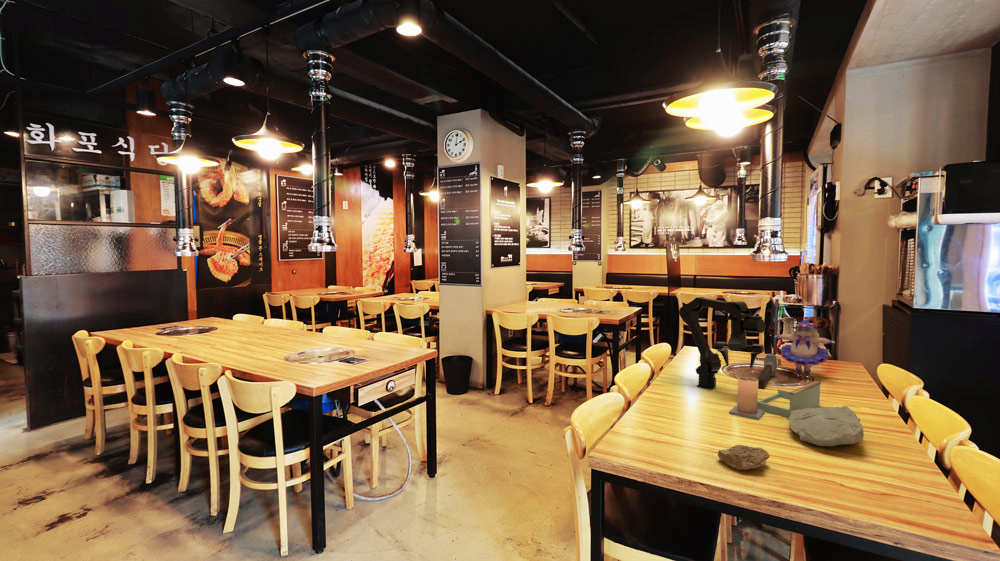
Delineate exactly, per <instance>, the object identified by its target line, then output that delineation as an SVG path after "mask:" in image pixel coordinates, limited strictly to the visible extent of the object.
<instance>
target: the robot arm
mask: <svg viewBox="0 0 1000 561" xmlns="http://www.w3.org/2000/svg"><path fill="white" fill-rule="evenodd" d="M703 307H705V308H709V309H715V310H720V311H723V312H725V313H726V314H728V316H727V317H725V320H726V321H730V337H729V339H728V341H727V342H726V341H717V342H715V343H713V350H717V352H719V353H720V354H721V356H722V357H723V360H724V362H725V365H726V367H728V366H729V362H730V361H729V351H738V352H739V351H741V350H742V351H743V350H745V351H747V350H748V351H751V352H750V362H749V366H750V369H752V368H753V366H754V364H755V361H756V359H757V357H758V355H760V354H762V353H765V350H766V349H765V348H766V347H765V345H764V344H761V343H760V344H759V343H754V344H752V345H748V340H747V332H748V333H757V334H762V333H765V331H766V326H767V325H766V322H765V320H764V319H763V316H761V315H759V316H757V315H756V316H755V315H754V314H753V313H752V311H751V310H750V309H749V307H748V304H747V303H746V302H745V301H739V300H737V301H736V300H735V301H724V300H720V299H715V298H714V299H713V298H708V297H704V296H699V297H698V296H697V297H695V298H694V299H693V300H691V301H689V302H687V303H686V304H684V305H682V306H680V308H679V309H678V314H679V315H678V316H680V318H681V320H682V321H683V322H684V323H685V324H686V325H687V326H688V329H689V330H690V333H691V336H692V338H693V340H694V342H695V345H696V347H697V349H698V352H699V363H700V365H699V366H697V367H696V368H695V372H696V374H697V375H698V384H697V388H702V389H706V390H713V389H716V387H717V377H716V375H717V374H718V373H719V371H720V370H721V368H722V360H721V359H720V356H719V354H718V353H717V352H716V353H714V352H713V351H712V350H711V348H710V345H709V343H708V340H707V338H706V336H705V334H704V331H703V329H702V327H701V325H700V321H699V320H700V314H699V312H701V310H702V309H703Z"/></svg>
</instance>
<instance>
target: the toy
mask: <svg viewBox="0 0 1000 561" xmlns="http://www.w3.org/2000/svg"><path fill="white" fill-rule="evenodd" d="M811 320H812V317H809V318H806V319H804V320H802V321H797V326H793V327H792V326H791V327H790V328H792V329H795V331H793V333H791V334H789V333H788V334H786V333H785V334H784V333H782V334H776V335H774V338H777V339H778V338H779V339H781V340H785V341H786V340H787V341H791V342H792V343H791V344H785V345H782V347H781V349H780V353H781V355H780V357H781V358H782V359H783V360H784V361H786V362H789V363H790V364H791V363H793V364H794V366H795V372H796V377H799V376H802V371H804V374H805V376H808V377H810V374H811V373H812V372H811V371H812V370H811V368H812V367H814V366H819V365H823V364H824V363H826V362H827V359H829V357H830V356H829V350H827V349H825V348H821V347H822V346H821V347H820V345H821V344H822V345H823V344H824V345H827V344H836V342H835V340H833V339H831V340H830V339H829V338H828V339H827V338H825V337H820V333H818V330H819V328H815V324H814V323H812V322H810V321H811ZM802 367H803V368H802ZM798 375H799V376H798Z"/></svg>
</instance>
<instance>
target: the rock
mask: <svg viewBox="0 0 1000 561" xmlns="http://www.w3.org/2000/svg"><path fill="white" fill-rule="evenodd" d="M717 457H718V459H719V460H721V461H722V462H723V463H724V464H725V465H728V466H729V467H731V468H732V469H735V470H737V471H739V470H740V471H742V470H743V471H747V470H755V469H757V468H760V467H763V466H766V462H767V460H768V459H769V458H770V454H769V452H768V451H767V450H765V449H764V448H762V447H753V446H749V445H744V444H735V445H734V446H731V447H730V448H727V449H719V450H718V451H717Z"/></svg>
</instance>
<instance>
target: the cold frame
mask: <svg viewBox="0 0 1000 561" xmlns="http://www.w3.org/2000/svg"><path fill="white" fill-rule="evenodd" d="M821 385H822V382H821V381H818V380H815V381H812V382H810V383H808V384H806V385H803V386H801V387H799V388H796V389H794V390H792V391H788V390H784V389H780V388H779V389H777V393H774V394H771V395H769V396H768V397H767V396H766V397H764V398H762V399H760V400H759V399H758V404H757V409H760V410H765V413H770V414H773V415H776V416H780V417H785V418H788V419H789V416H790V412H791V410H799V409H804V408H819V406H820V401H821V399H820V397H821V395H820V394H821ZM779 398H783V399H787V400H789V408H785V407H782V406H778V405H773V404H770V403H769V402H772V401H774V400H777V399H779Z"/></svg>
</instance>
